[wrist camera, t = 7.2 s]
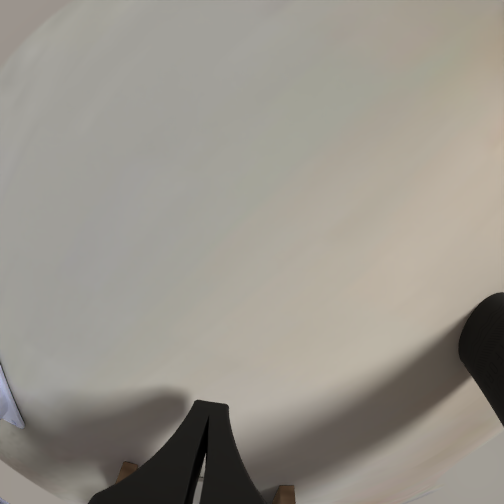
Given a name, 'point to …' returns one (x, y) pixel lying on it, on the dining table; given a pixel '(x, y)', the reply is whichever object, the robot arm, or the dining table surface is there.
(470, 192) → the dining table surface
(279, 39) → the dining table surface
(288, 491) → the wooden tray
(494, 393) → the drinking cup
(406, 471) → the dining table surface
